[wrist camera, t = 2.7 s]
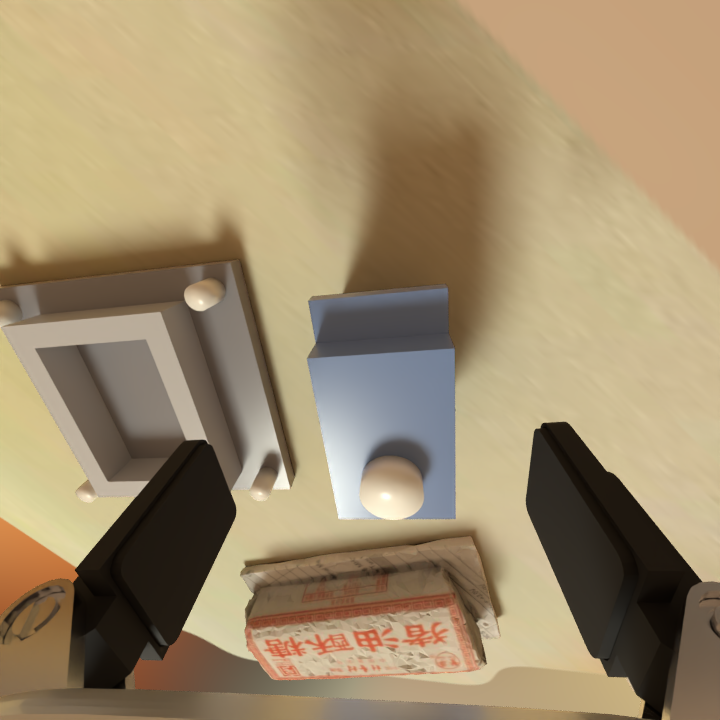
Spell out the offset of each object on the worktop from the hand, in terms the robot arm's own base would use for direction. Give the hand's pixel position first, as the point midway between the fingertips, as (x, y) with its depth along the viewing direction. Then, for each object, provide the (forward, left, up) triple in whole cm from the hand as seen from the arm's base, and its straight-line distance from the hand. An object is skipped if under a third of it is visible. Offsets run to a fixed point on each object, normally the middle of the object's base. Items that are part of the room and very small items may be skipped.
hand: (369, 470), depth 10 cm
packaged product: (+3, +21, -10) cm, 23 cm away
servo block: (0, +1, -9) cm, 9 cm away
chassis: (+14, +2, -9) cm, 16 cm away
